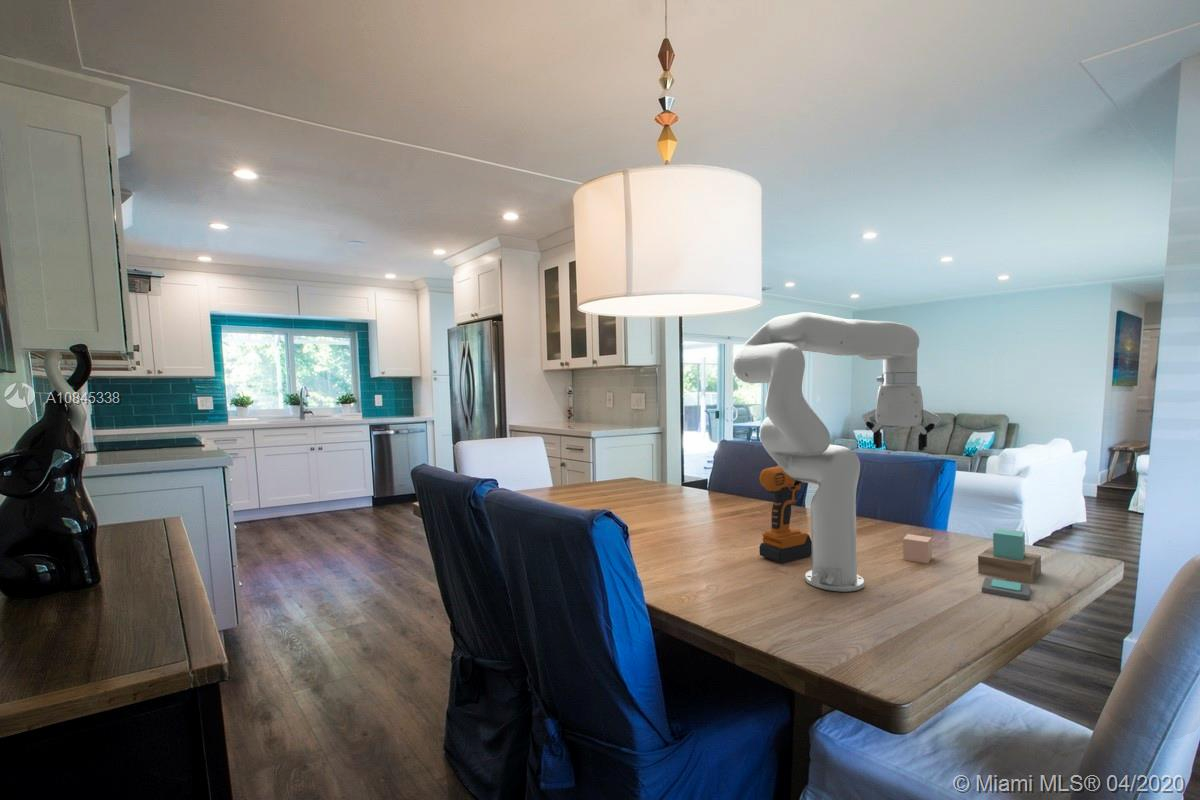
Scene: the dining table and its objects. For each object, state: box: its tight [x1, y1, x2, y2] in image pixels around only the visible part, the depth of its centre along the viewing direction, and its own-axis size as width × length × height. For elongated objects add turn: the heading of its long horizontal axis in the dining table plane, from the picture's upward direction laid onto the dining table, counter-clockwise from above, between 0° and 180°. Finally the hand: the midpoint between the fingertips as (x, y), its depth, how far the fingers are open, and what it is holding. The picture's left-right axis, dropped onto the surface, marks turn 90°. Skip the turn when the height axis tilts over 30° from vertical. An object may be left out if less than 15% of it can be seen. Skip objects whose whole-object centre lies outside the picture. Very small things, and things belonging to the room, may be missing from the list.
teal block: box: [992, 527, 1026, 561], centre depth 129 cm, size 6×6×6 cm
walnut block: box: [977, 546, 1042, 585], centre depth 129 cm, size 10×10×4 cm
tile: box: [981, 576, 1031, 601], centre depth 118 cm, size 8×8×1 cm
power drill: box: [758, 464, 812, 564], centre depth 146 cm, size 22×7×25 cm, turn 121°
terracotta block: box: [902, 533, 933, 564], centre depth 141 cm, size 6×6×6 cm
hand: (899, 449), depth 136 cm, fingers open, 9 cm apart
